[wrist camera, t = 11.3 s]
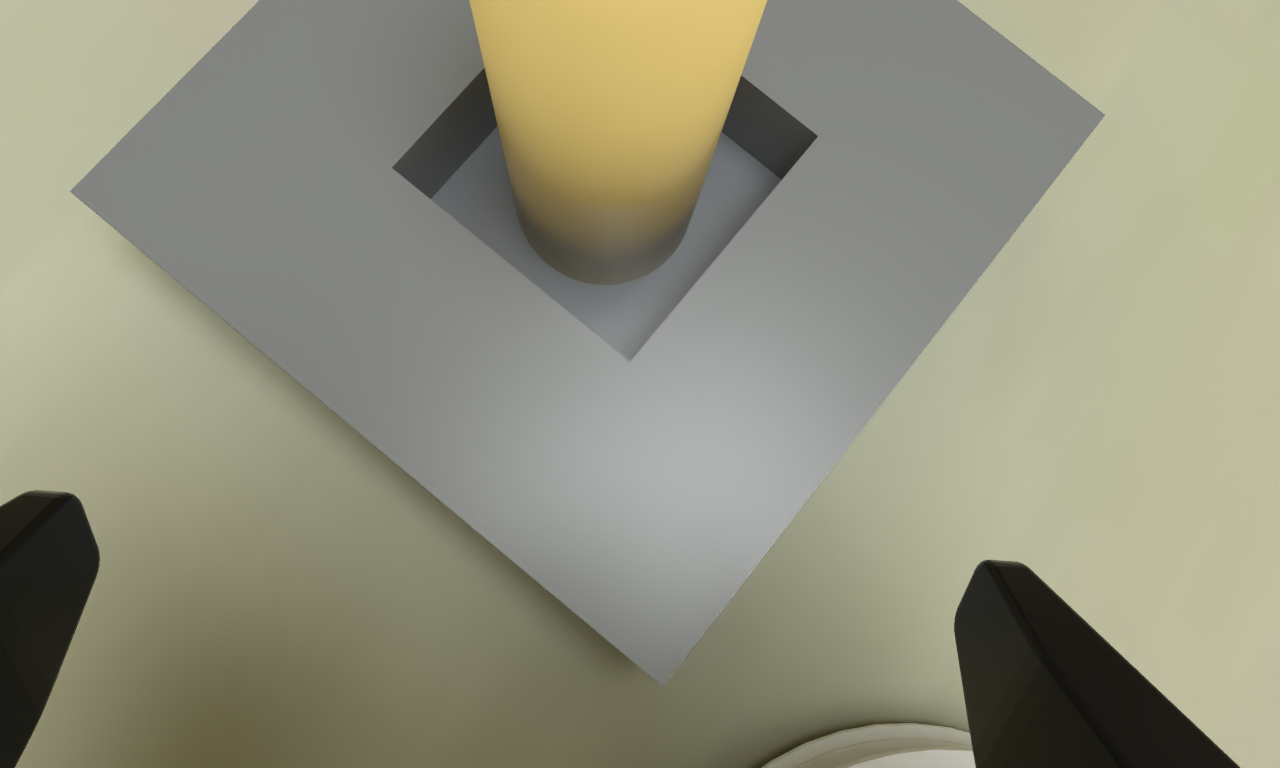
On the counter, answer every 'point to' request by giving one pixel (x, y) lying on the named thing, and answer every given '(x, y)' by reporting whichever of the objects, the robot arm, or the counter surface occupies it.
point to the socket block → (590, 313)
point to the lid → (884, 748)
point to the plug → (611, 120)
